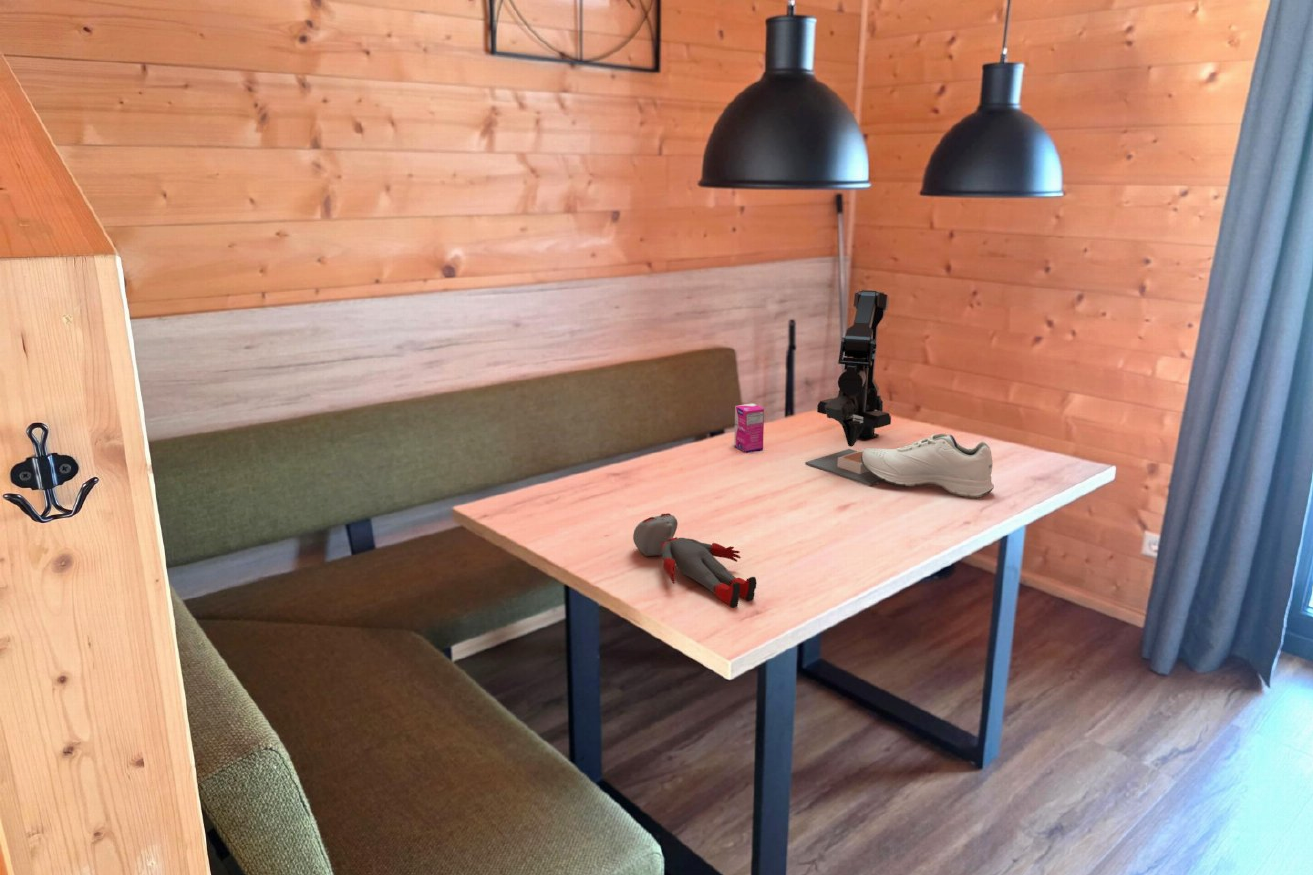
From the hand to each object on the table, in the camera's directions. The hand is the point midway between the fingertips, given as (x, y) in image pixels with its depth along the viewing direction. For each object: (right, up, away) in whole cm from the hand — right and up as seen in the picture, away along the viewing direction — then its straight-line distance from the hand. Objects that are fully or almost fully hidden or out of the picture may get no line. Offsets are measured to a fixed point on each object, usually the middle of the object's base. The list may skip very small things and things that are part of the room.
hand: (850, 446), depth 226 cm
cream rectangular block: (0, -3, +1) cm, 3 cm away
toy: (-42, -23, -56) cm, 74 cm away
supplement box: (-24, -1, +14) cm, 28 cm away
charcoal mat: (+2, -5, 0) cm, 6 cm away
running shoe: (+15, -9, -12) cm, 21 cm away
